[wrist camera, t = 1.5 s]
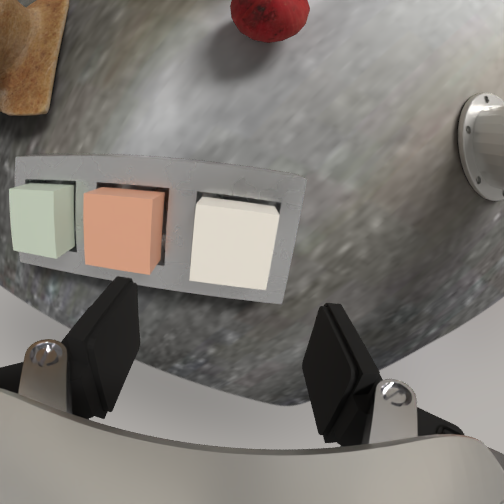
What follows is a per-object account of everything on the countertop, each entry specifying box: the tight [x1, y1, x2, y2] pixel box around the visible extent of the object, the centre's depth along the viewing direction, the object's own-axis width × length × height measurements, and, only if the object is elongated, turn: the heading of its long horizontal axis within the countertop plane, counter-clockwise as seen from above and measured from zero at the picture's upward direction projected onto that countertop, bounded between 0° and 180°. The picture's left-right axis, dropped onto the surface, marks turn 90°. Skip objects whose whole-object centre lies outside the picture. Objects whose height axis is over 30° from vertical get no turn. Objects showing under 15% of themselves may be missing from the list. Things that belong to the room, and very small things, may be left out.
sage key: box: [9, 183, 75, 259], centre depth 19 cm, size 5×5×3 cm
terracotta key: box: [83, 187, 165, 275], centre depth 19 cm, size 5×5×3 cm
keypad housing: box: [15, 153, 307, 304], centre depth 22 cm, size 25×10×4 cm, turn 81°
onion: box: [230, 0, 310, 43], centre depth 15 cm, size 6×6×8 cm
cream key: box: [189, 197, 280, 290], centre depth 20 cm, size 5×5×3 cm
